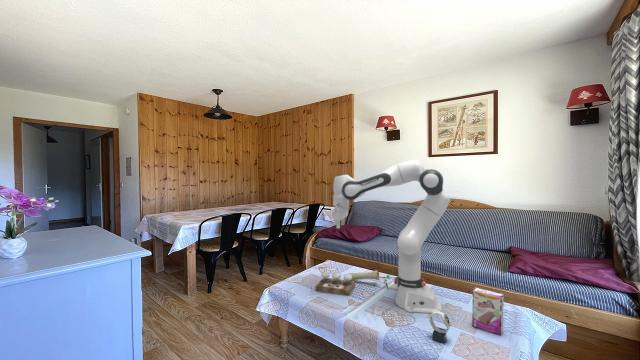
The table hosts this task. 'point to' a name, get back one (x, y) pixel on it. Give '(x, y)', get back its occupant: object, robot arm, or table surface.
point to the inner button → (347, 277)
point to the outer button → (325, 274)
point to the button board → (335, 286)
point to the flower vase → (371, 276)
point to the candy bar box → (488, 311)
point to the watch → (440, 333)
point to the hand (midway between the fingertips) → (340, 226)
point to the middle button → (336, 275)
